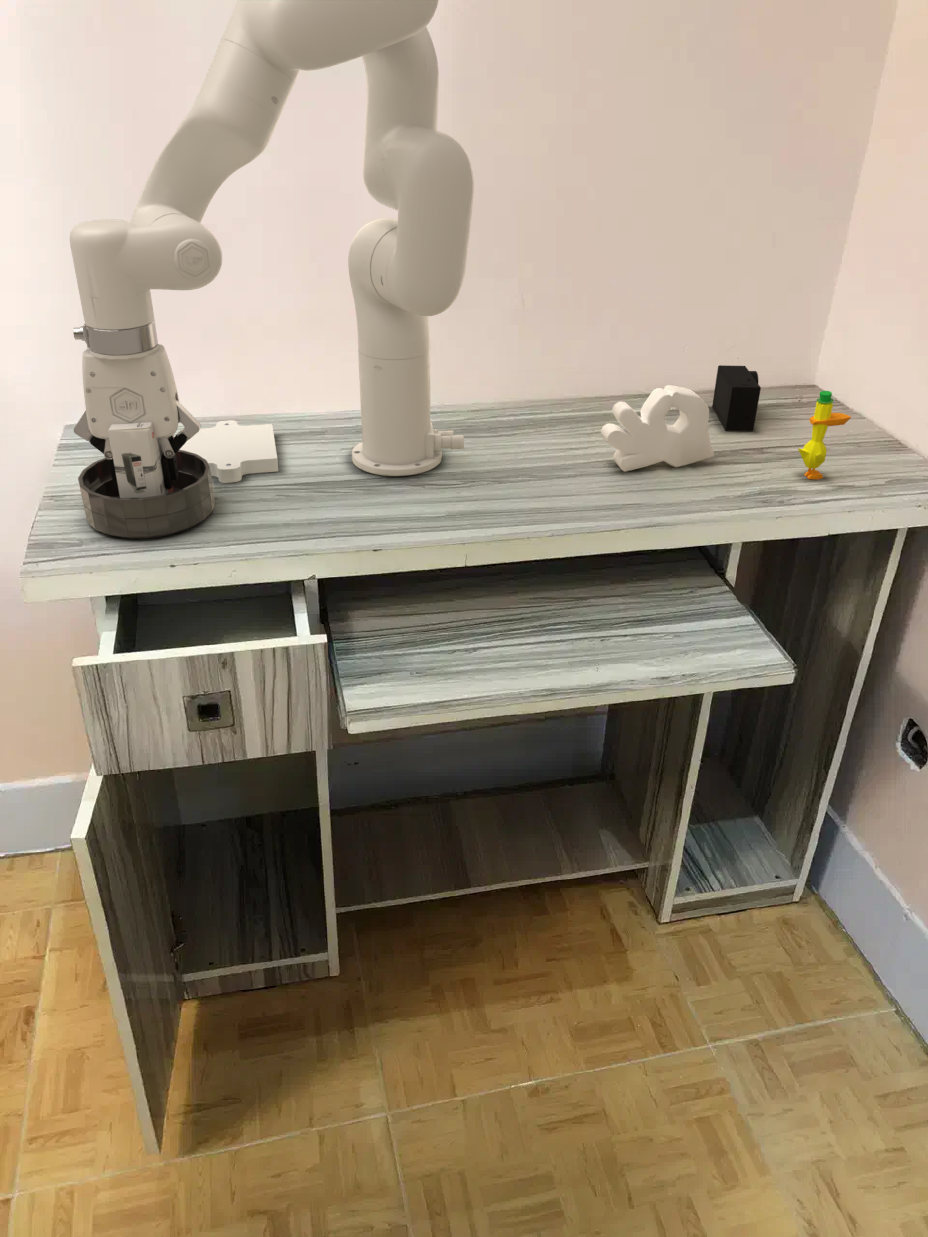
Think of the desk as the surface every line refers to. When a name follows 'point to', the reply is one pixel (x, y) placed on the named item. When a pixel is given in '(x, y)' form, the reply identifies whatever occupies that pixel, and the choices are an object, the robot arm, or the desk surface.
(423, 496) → the desk surface
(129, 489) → the ink box
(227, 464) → the mounting plate
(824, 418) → the toy figure
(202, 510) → the bowl
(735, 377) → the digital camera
